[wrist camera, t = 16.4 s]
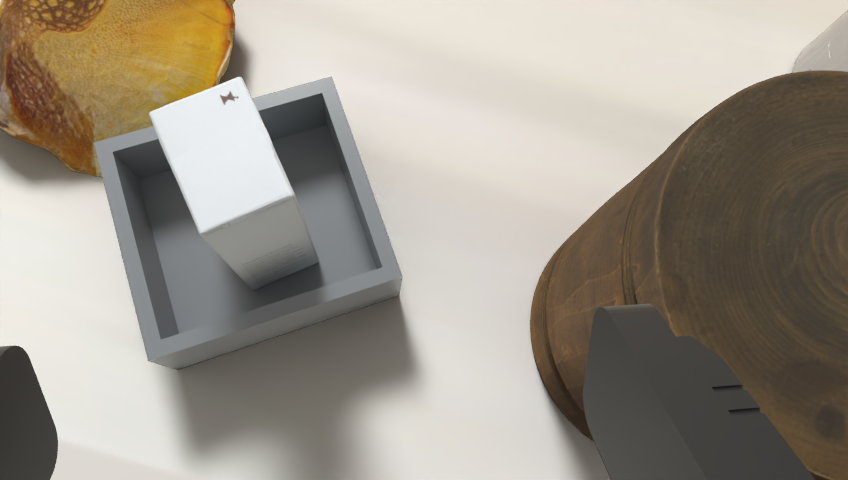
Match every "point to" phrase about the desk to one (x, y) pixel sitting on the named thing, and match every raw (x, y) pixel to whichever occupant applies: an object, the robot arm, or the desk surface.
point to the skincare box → (235, 183)
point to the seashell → (104, 67)
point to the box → (210, 275)
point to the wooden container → (728, 260)
